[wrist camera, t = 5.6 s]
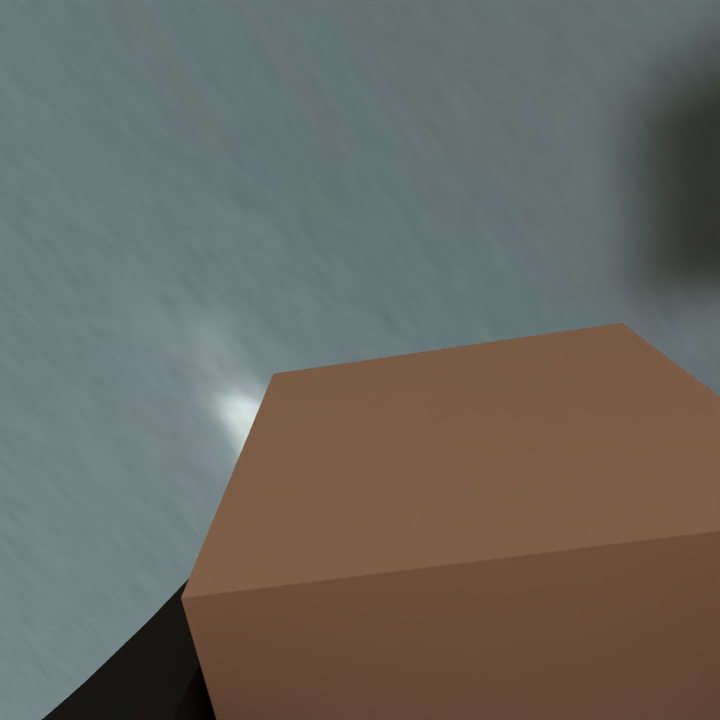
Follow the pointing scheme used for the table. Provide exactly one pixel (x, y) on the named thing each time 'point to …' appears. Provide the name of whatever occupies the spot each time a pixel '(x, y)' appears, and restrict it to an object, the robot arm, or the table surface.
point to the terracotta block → (470, 540)
